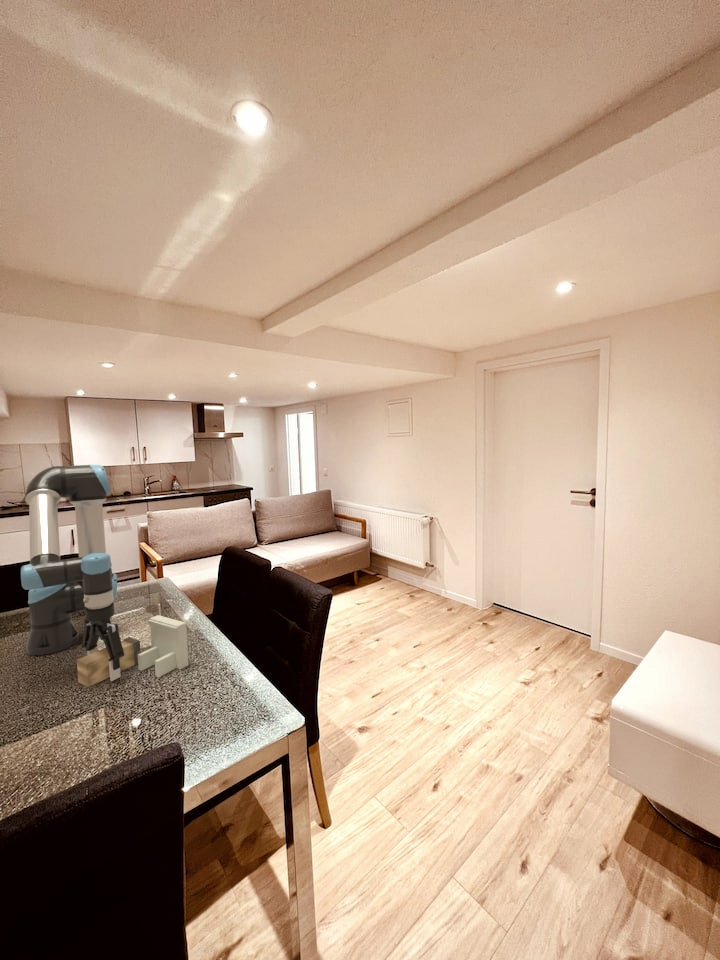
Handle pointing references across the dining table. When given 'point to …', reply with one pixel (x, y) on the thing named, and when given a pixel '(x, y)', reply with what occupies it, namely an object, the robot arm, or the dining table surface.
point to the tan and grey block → (106, 662)
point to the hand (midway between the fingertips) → (104, 674)
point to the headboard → (165, 646)
